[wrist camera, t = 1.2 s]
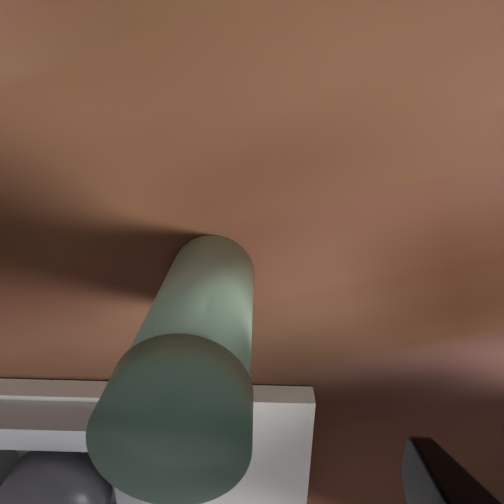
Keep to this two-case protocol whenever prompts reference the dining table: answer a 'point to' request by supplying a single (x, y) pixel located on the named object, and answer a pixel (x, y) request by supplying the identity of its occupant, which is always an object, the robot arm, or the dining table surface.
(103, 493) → the button
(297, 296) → the dining table surface
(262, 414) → the board
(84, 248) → the dining table surface
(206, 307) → the cylinder
